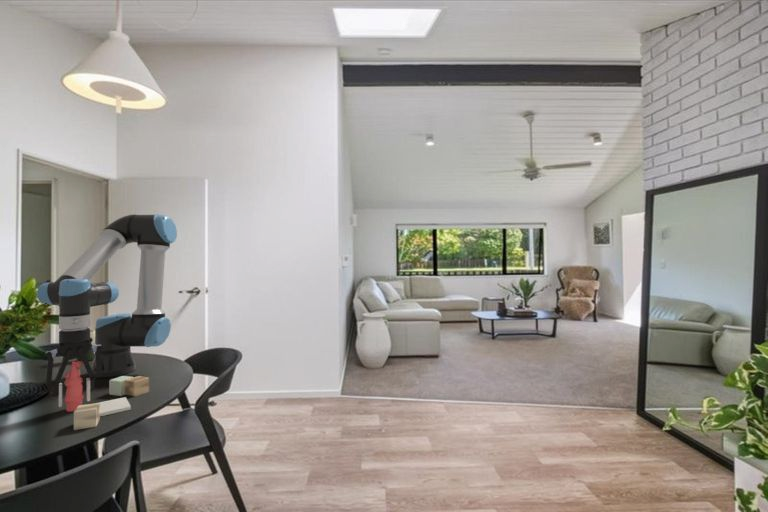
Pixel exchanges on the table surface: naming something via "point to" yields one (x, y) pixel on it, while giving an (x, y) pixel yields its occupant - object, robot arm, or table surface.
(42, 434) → the table surface
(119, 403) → the coaster
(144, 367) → the table surface
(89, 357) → the character mug
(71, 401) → the figurine
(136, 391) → the oak block
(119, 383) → the sage block
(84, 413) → the maple block
